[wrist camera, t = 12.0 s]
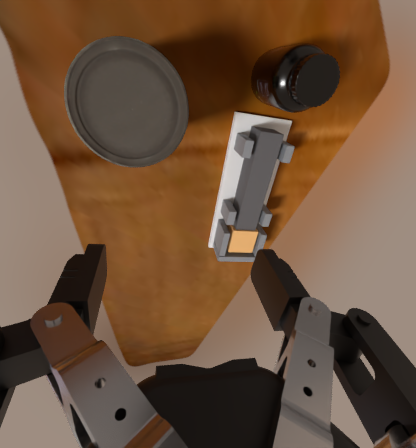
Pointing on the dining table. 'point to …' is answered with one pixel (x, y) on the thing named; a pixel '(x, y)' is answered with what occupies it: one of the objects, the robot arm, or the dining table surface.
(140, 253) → the dining table surface
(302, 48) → the supplement bottle
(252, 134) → the grey orange bar
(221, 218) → the white grey holder tray
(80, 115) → the coffee can
